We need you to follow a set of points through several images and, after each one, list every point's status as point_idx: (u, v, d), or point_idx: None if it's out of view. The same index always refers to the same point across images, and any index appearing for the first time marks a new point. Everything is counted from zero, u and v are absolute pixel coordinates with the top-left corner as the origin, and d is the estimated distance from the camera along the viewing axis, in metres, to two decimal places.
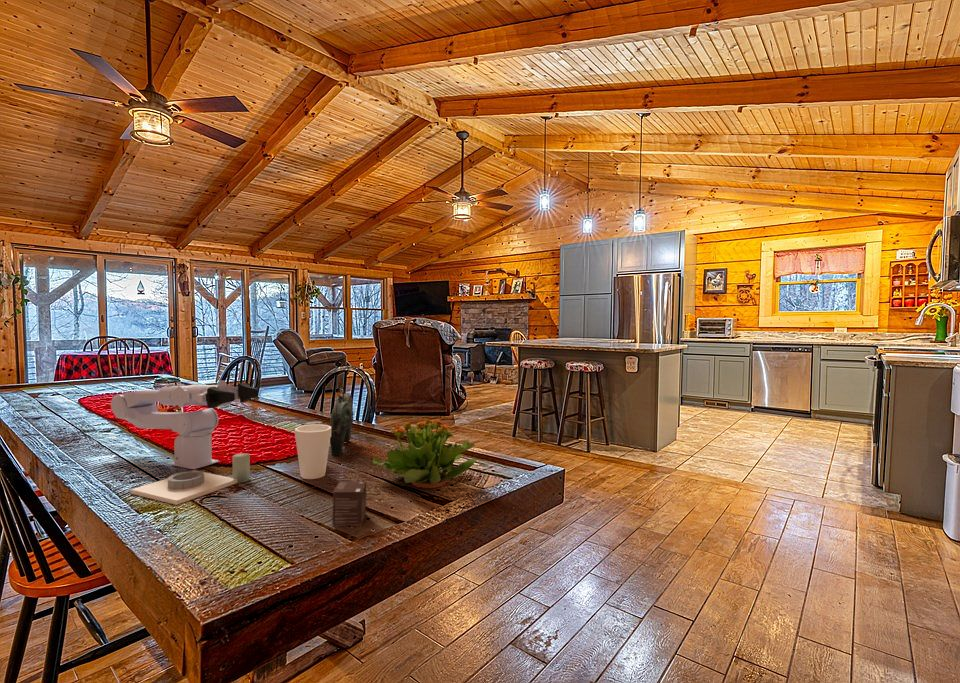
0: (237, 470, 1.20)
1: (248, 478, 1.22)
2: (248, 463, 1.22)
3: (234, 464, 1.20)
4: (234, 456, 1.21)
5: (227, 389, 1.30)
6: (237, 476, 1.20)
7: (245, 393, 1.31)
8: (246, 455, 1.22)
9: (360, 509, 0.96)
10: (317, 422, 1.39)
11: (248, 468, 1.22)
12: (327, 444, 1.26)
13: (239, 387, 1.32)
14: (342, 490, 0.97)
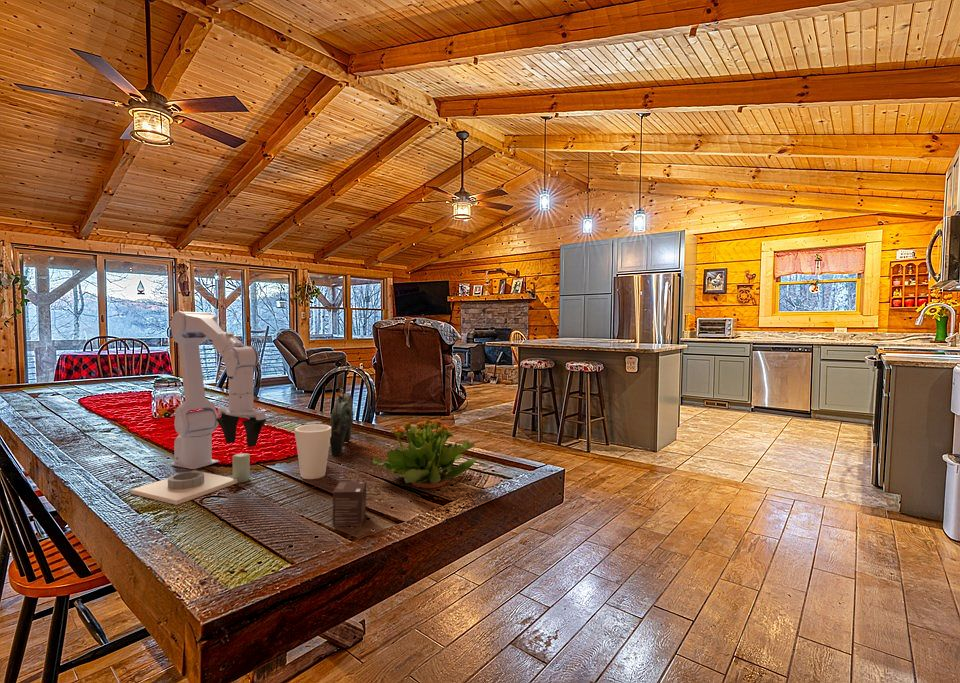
0: (237, 470, 1.20)
1: (248, 478, 1.22)
2: (248, 463, 1.22)
3: (234, 464, 1.20)
4: (234, 456, 1.21)
5: None
6: (237, 476, 1.20)
7: None
8: (246, 455, 1.22)
9: (360, 509, 0.96)
10: (317, 422, 1.39)
11: (248, 468, 1.22)
12: (327, 444, 1.26)
13: None
14: (342, 490, 0.97)
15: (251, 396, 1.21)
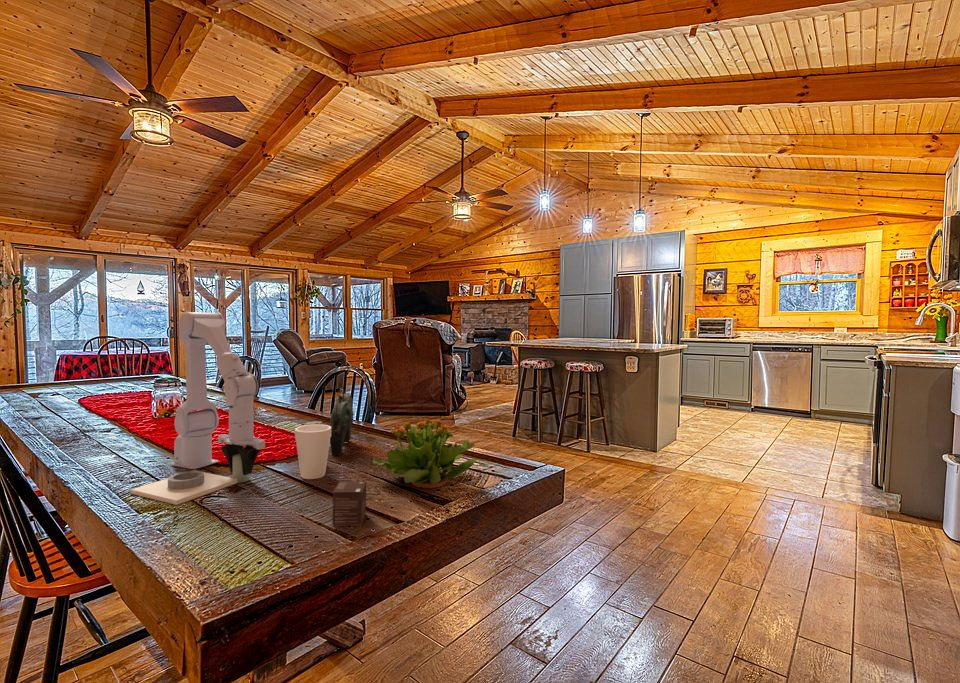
0: (237, 470, 1.20)
1: (248, 478, 1.22)
2: None
3: (234, 464, 1.20)
4: (234, 456, 1.21)
5: None
6: (237, 476, 1.20)
7: None
8: None
9: (360, 509, 0.96)
10: (317, 422, 1.39)
11: None
12: (327, 444, 1.26)
13: None
14: (342, 490, 0.97)
15: (251, 425, 1.21)
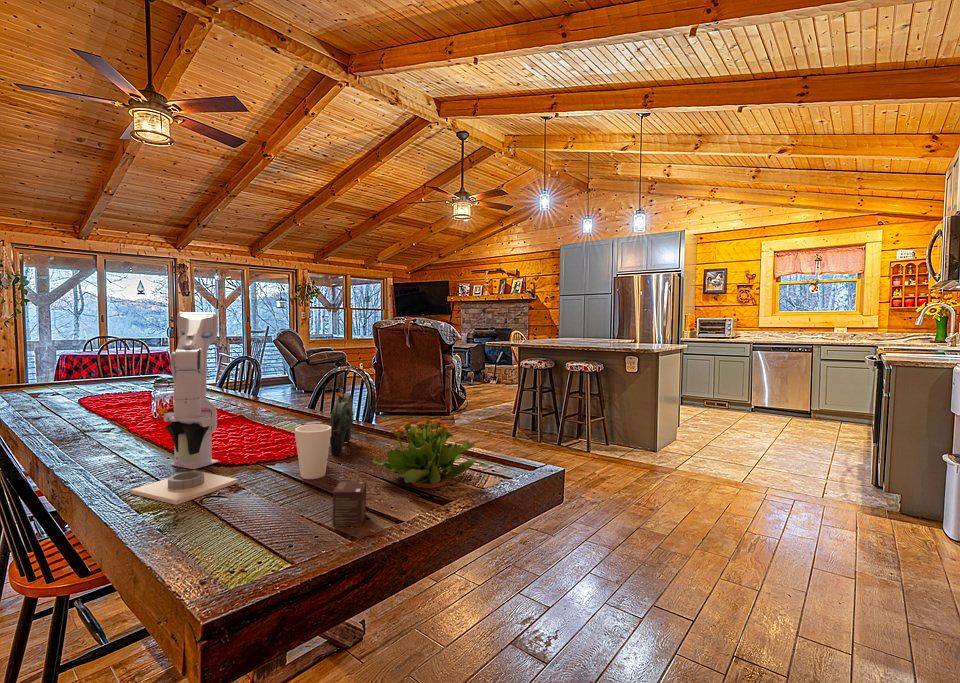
0: (182, 449, 1.13)
1: (196, 459, 1.15)
2: None
3: (180, 442, 1.13)
4: (180, 434, 1.14)
5: None
6: (182, 456, 1.13)
7: None
8: None
9: (360, 509, 0.96)
10: (317, 422, 1.39)
11: None
12: (327, 444, 1.26)
13: None
14: (342, 490, 0.97)
15: (198, 401, 1.14)
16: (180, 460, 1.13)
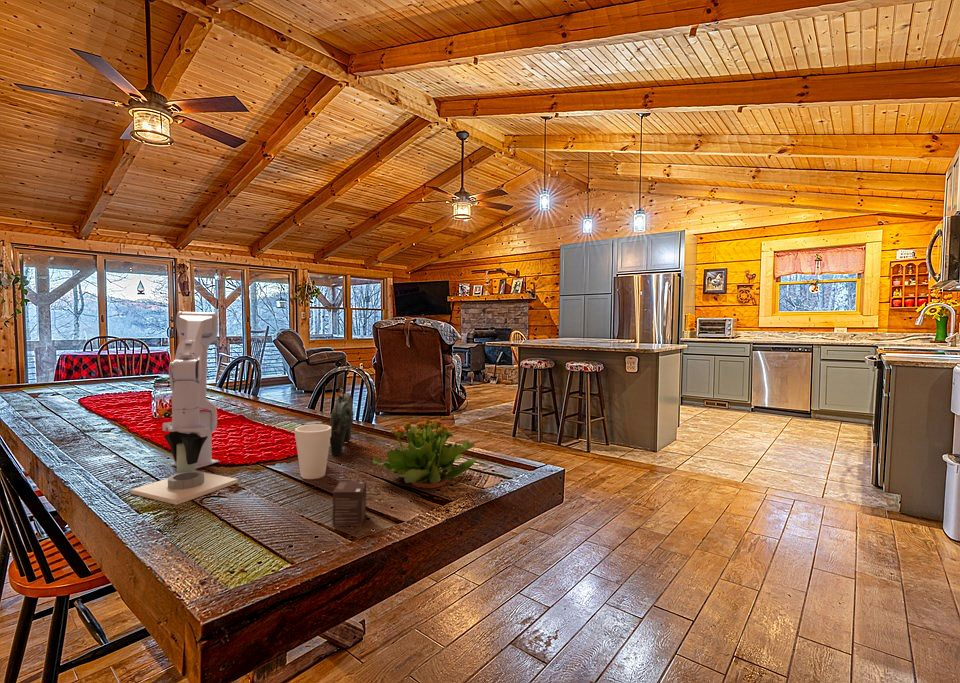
0: (180, 459, 1.13)
1: (194, 468, 1.15)
2: None
3: (178, 452, 1.13)
4: (178, 444, 1.14)
5: None
6: (180, 466, 1.13)
7: None
8: None
9: (360, 509, 0.96)
10: (317, 422, 1.39)
11: None
12: (327, 444, 1.26)
13: None
14: (342, 490, 0.97)
15: (196, 411, 1.14)
16: (178, 470, 1.13)
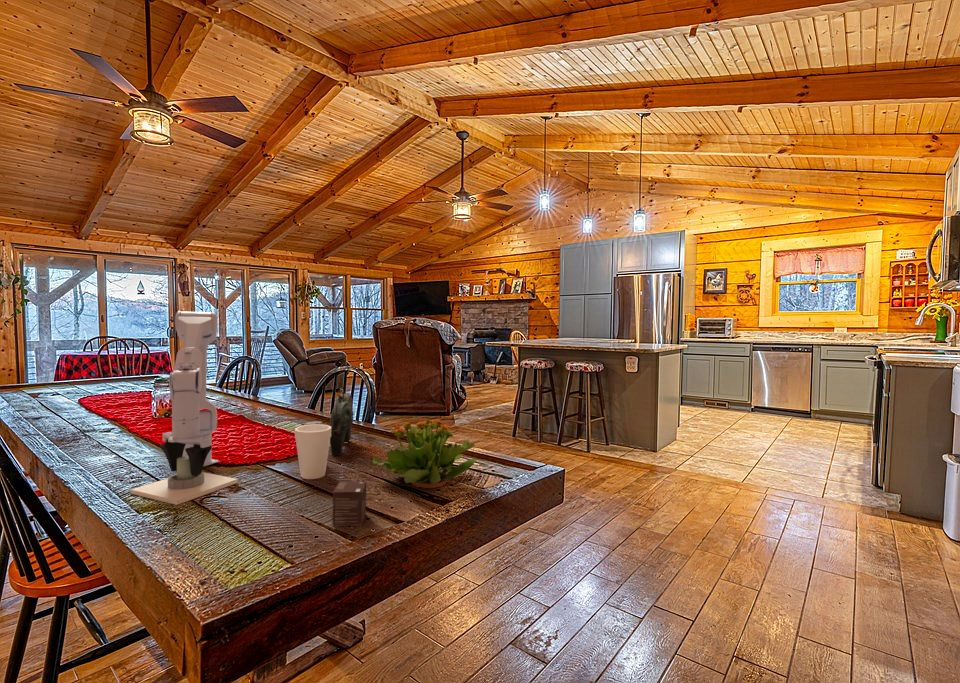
0: (180, 473, 1.13)
1: None
2: None
3: (178, 467, 1.13)
4: (178, 459, 1.14)
5: None
6: None
7: None
8: None
9: (360, 509, 0.96)
10: (317, 422, 1.39)
11: None
12: (327, 444, 1.26)
13: None
14: (342, 490, 0.97)
15: (196, 422, 1.14)
16: None
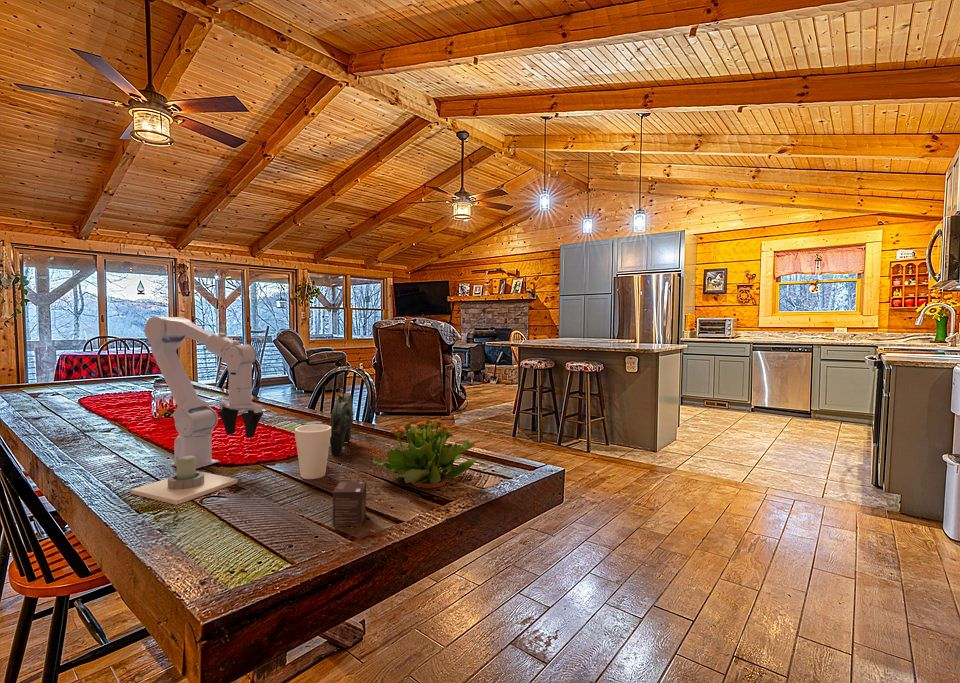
0: (180, 473, 1.13)
1: None
2: (193, 466, 1.15)
3: (178, 467, 1.13)
4: (178, 459, 1.14)
5: None
6: None
7: None
8: (191, 458, 1.15)
9: (360, 509, 0.96)
10: (317, 422, 1.39)
11: (193, 471, 1.15)
12: (327, 444, 1.26)
13: None
14: (342, 490, 0.97)
15: (249, 391, 1.30)
16: None
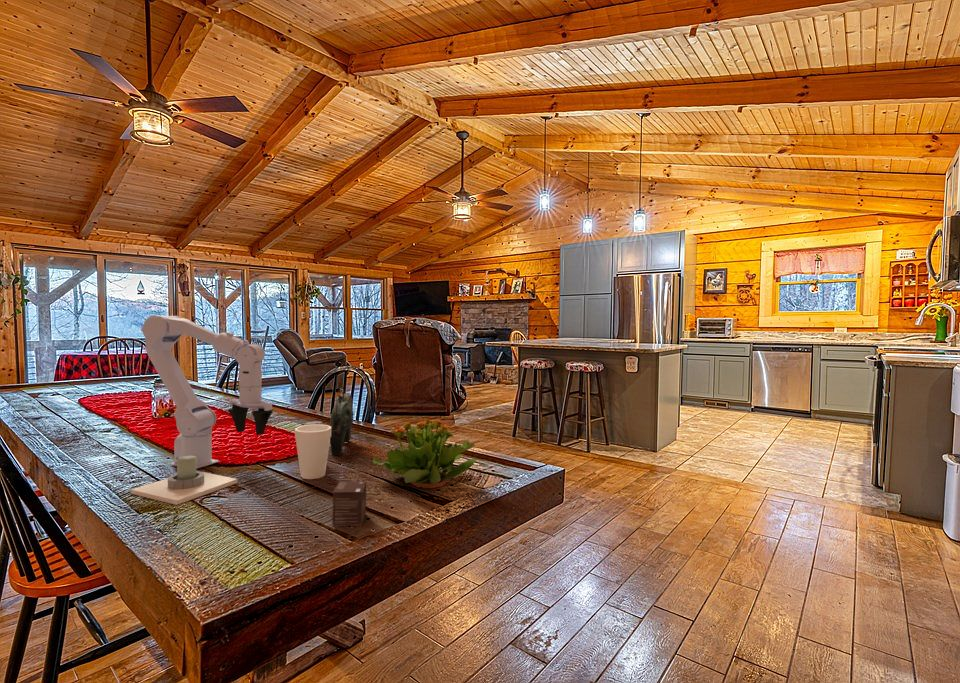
0: (180, 473, 1.13)
1: None
2: (194, 466, 1.15)
3: (178, 466, 1.13)
4: (179, 458, 1.14)
5: None
6: None
7: None
8: (192, 458, 1.15)
9: (360, 509, 0.96)
10: (317, 422, 1.39)
11: (193, 471, 1.15)
12: (327, 444, 1.26)
13: None
14: (342, 490, 0.97)
15: (259, 389, 1.33)
16: None
